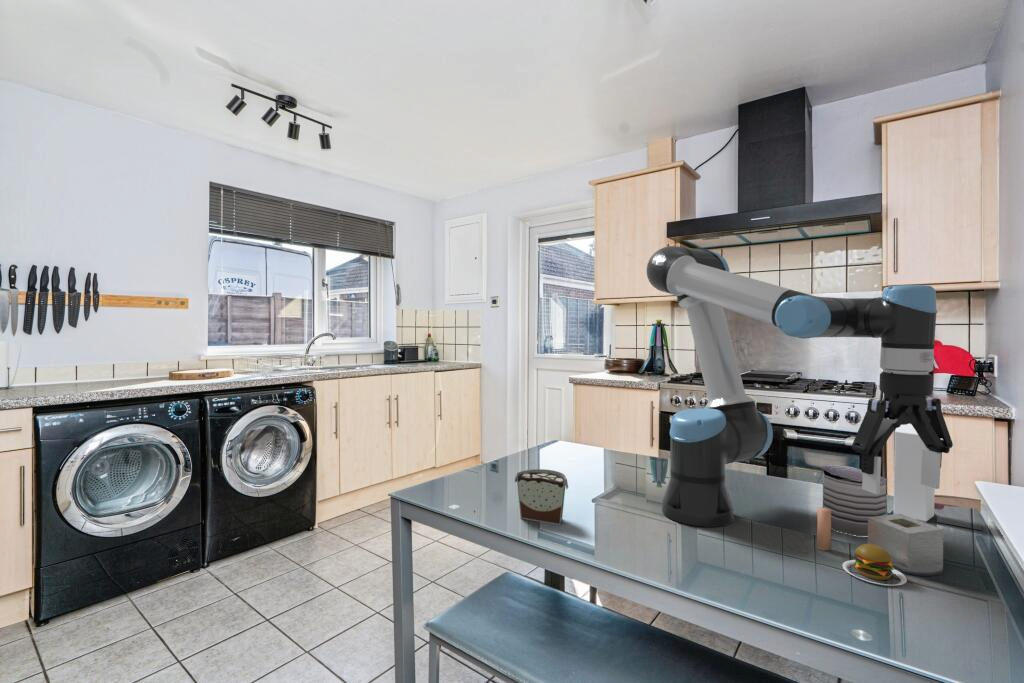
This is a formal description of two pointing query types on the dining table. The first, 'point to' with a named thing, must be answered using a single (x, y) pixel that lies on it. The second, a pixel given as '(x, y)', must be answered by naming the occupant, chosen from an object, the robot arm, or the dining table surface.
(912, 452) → the milk
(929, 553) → the collar
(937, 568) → the hub
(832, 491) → the can
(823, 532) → the sausage
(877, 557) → the hamburger
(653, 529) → the dining table surface
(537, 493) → the food container
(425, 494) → the dining table surface
